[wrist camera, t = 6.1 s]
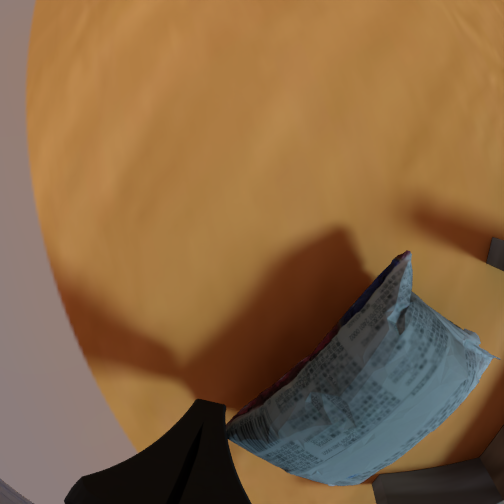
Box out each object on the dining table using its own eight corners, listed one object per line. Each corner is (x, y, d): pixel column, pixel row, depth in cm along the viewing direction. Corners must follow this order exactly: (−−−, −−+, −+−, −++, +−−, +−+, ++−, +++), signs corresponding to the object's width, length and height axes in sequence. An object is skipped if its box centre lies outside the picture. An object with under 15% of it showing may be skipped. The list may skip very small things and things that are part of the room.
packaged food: (474, 337, 12) (522, 382, 8) (328, 464, 15) (335, 523, 10) (383, 234, 12) (437, 260, 7) (218, 403, 14) (197, 471, 10)
